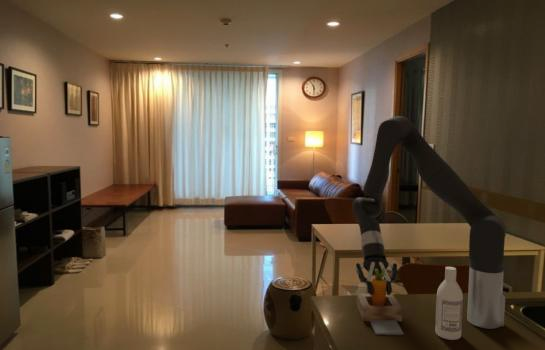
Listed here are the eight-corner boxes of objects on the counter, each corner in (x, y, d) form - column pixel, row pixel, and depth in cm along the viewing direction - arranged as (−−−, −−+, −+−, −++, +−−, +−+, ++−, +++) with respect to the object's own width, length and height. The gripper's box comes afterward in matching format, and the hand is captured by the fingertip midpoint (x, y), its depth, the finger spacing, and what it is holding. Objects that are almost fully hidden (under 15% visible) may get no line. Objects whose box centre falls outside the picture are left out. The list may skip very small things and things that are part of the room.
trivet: (396, 322, 126) (396, 320, 126) (403, 335, 118) (403, 333, 118) (370, 322, 127) (370, 320, 127) (375, 334, 119) (375, 332, 119)
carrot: (383, 309, 136) (384, 265, 134) (388, 316, 131) (389, 270, 129) (368, 309, 135) (369, 265, 134) (373, 316, 130) (373, 271, 129)
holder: (391, 305, 139) (392, 293, 138) (402, 321, 127) (402, 309, 126) (356, 304, 139) (356, 293, 139) (363, 321, 127) (363, 308, 127)
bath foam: (466, 339, 116) (469, 271, 114) (445, 342, 114) (448, 273, 112) (450, 327, 123) (453, 263, 121) (430, 330, 121) (432, 265, 119)
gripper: (353, 241, 138) (359, 289, 128) (396, 241, 138) (405, 289, 127) (350, 252, 144) (356, 298, 133) (391, 252, 144) (400, 299, 133)
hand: (380, 294), depth 130 cm, fingers closed on carrot, 5 cm apart
